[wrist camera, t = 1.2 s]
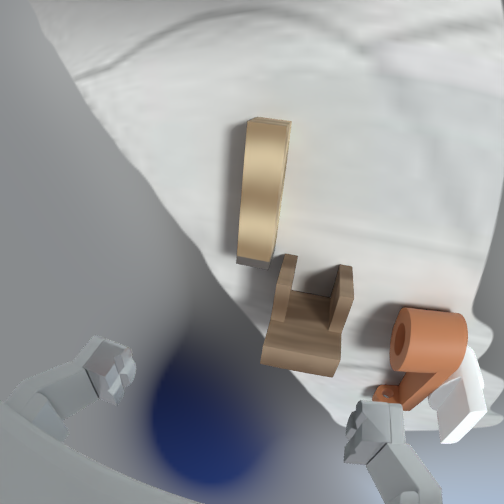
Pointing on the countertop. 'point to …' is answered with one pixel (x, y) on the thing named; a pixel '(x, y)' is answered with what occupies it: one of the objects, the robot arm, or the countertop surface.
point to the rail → (262, 190)
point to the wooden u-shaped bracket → (307, 324)
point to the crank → (423, 354)
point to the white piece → (459, 400)
